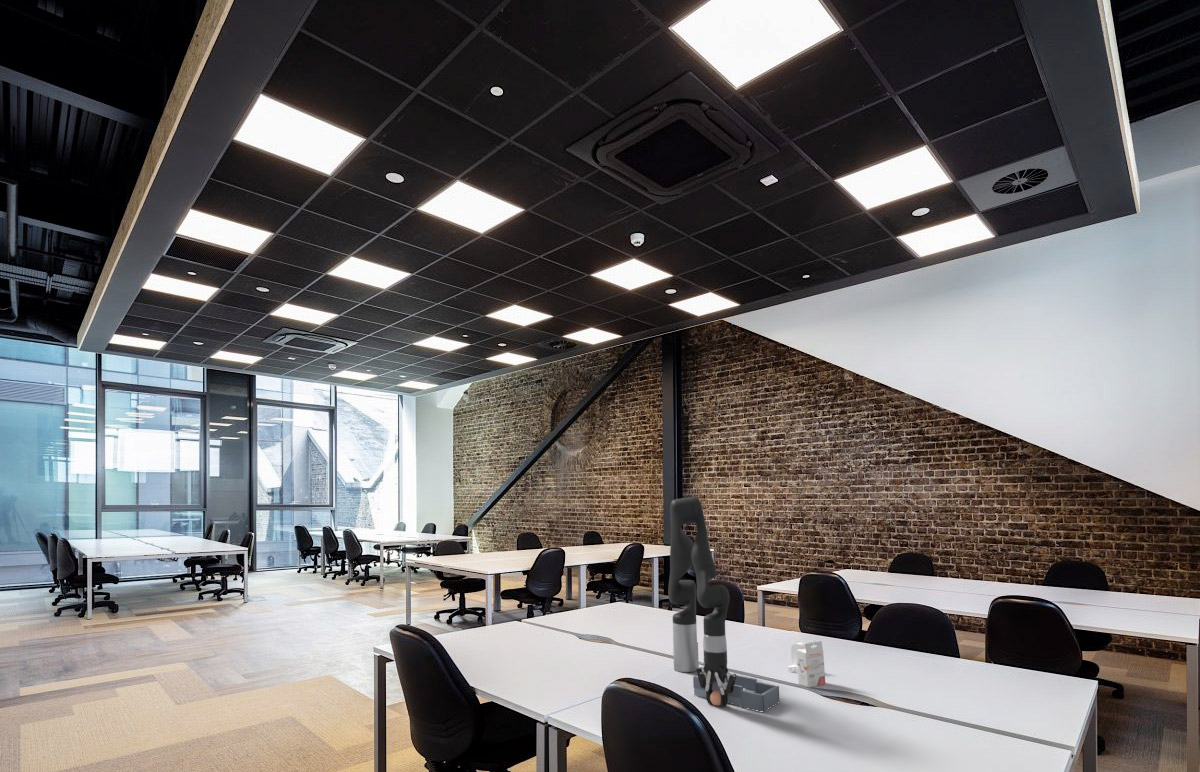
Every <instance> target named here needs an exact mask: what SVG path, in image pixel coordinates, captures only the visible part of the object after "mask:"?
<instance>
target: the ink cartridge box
mask: <svg viewBox="0 0 1200 772" xmlns="http://www.w3.org/2000/svg"><path fill="white" fill-rule="evenodd" d="M804 644H805V648H806V649H800V650H796V651H797V666H798V674H797V678H798V685H799V686H802V687H806V688H808V689H810V688H814V687H818V686H823V685H826V673H825V657H824V650H823V649H824V648H823V642H822V640H819V641H813V642H807V643H804ZM812 646H813V647H812ZM814 646H815V647H814Z"/></svg>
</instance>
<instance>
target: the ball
mask: <svg viewBox="0 0 1200 772" xmlns="http://www.w3.org/2000/svg"><path fill="white" fill-rule="evenodd" d="M710 701H711V702H712V703H711V704H712V705H714V706H715V705H716V707H718V706H721V692H720V691H713V692H712V693H711V695H710Z"/></svg>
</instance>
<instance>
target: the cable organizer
mask: <svg viewBox="0 0 1200 772" xmlns="http://www.w3.org/2000/svg"><path fill="white" fill-rule="evenodd" d="M805 644H806V643H804V642H797V643H794V644H792V645H791V648H790V650H791V652H790V653H791V665H788V666H787V672H788V673H795V674H796V675H798V666H797V651H796V650H800V649H806V648H805Z"/></svg>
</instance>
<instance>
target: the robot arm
mask: <svg viewBox="0 0 1200 772" xmlns="http://www.w3.org/2000/svg"><path fill="white" fill-rule="evenodd" d="M669 511H670V512H669V515H670V516H669V517H670V531H671V532H670V534H671V535H670V548H669V550H670V551H669V563H670V564H669V566H670V567H669V568H670V569H669V570H670V571H669V577H668V578H669V580H668V588H667V589H668V590H667V591H668V592H667V594H668V596H667V597H668V600H669V602H670V603H671V604H672V605H677V606H678V605H683V606H684V605H685V606H686V605H687V607H686V608H684V609H683V610H681V611H678V612H675V613H674V614H673V615H672V643H673V645H672V646H673V648H672V649H673V653H672V654H673V669H674V671H675V672H676V671H677V672H681V673H694V672H696V676H697V675H698V679H699V683H700V687H701V688H704V689H705V690H706V698H705V699H706V702H707V704H709V705H710V704H712V702H711V701H710V695H711V693H712V692H713V690H712V687H713V683H714V682H716V683H718V686H719V687H720V691H721V705H720V706H721V707H723V708H725V707H727V705H728V704H729V703H728V697H727V694H729V693H731V692H733V689H734V684H735V680H736V675H737V674H736V673H731V672H729V669H728V649H727V648H728V645H727V636H726V619H727V615H728V609H729V604H730V597H731V596H730V592H729V589H728V588H727V587H726V586H725V585H724V584H714V585H713V584H709V581H711V580H713V579H715V578H716V577H717V575H718V572H717V567H716V564H715V561H714V558H713V556H712V555H713V554H712V551H711V547H710V543H709V537H708V530H707V526H706V524H707V523H706V520H705V514H704V510H703V505H702V503H701V500H700V499H699V498H698V497H696V496H689V497H682V498H675V499H672V501H671V502H670V507H669ZM690 524H695V525H696V535H695V540H694V542H693V540H692V539H691V538H690V537H689V535H687V534H686V533H685V531H684V530H683V529H682V526H684V525H690ZM692 567H693V569H694V572H695V576H696V582H695V581H694V580H692V579H682V577H683V576H685V574H686V573H688V572H689V571H690V569H691V568H692ZM697 602H698V604H699V605H700V606H701V607H702V608H705V609H713V611H711V613H708V614H706V615H705V616H704V617H703V638H702V640H703V663H704V665H703V667H702V666H699V665H700V664H699V663H700V662H699V642H698V633H697V632H698V631H697V630H698V629H697V625H698V624H697ZM705 673H706V675H707V679H706V678H705ZM726 676H727V677H728V684H727V682H726V679H725V678H726Z"/></svg>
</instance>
